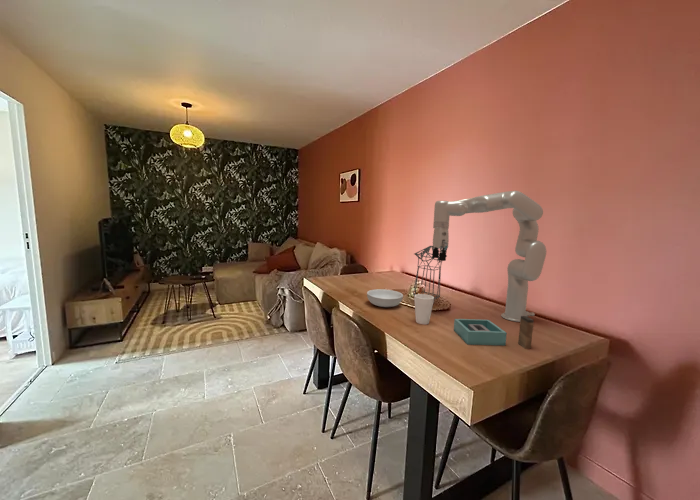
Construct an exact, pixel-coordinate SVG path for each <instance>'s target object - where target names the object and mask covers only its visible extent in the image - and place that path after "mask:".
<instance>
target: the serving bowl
mask: <svg viewBox="0 0 700 500" xmlns="http://www.w3.org/2000/svg"><path fill="white" fill-rule="evenodd" d="M366 297H367V300H368V301H369V302H370V303H371V304H372V305H375V306H378V307H381V308H391V307H397V306H398V305H399V304H401V302H402V301H403V298H404V295H403V293H402V292H400V291H396V290H392V289H385V288H383V289H382V288H379V289H377V288H376V289H370V290H367V292H366Z"/></svg>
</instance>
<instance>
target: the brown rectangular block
mask: <svg viewBox="0 0 700 500" xmlns="http://www.w3.org/2000/svg"><path fill="white" fill-rule="evenodd" d="M534 321H535V320H534V319H532V318H530V316H528V317H527V316H521V320H520V322H519V331H518V342H517V344H518V345H519V346H521V347H522V348H523V349H525V350H527V349H528V350H529V349H530V350H531V348H532V340H533V332H534V331H533V330H534Z"/></svg>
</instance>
